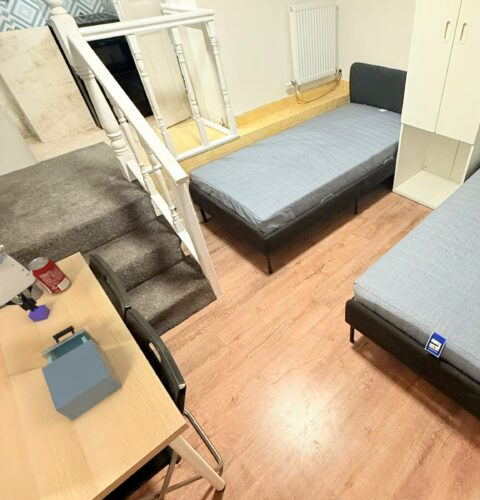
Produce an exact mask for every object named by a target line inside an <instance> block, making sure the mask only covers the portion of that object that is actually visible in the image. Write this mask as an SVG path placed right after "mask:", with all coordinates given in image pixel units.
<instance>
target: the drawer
mask: <svg viewBox="0 0 480 500" xmlns="http://www.w3.org/2000/svg"><path fill="white" fill-rule="evenodd" d="M69 333H71V334H70V335H69V336H67V337H65V338H64V339H62V340H60V338H62V337H64V336H66V335H67V334H69ZM52 339H53V340H54V341H55V344H53V345H51V346H50V347H47V348H46V349H45V350H42V351H41V352H40V354H41V356H42V357H43V358H44V359H46V360H47V361H48V364H50V363H51V362H53V361H55V360H56V359H58V358H60V357H61V356H63V355H65V354H66V353H68V352H70V351H71V350H73V349H75V348H76V347H78V346H80V345H82V344H83V343H85V342H87V341H88V340H90V339H92V340H93V341H94V342H95V343H96V344H97V345H98V344H99V343H98V340H97V339H96V338H95V337H94V336H93V335H92V334H91V333H90V332H89V331H88V330H87V329H86V328H85V327H82V328H81V329H80V330H77V331H75V327H74V326H73V325H69V326H68V327H66V328H64V329H63V330H61V331H59V332H57V333H56V334H54V335H52Z"/></svg>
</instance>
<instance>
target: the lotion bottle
mask: <svg viewBox="0 0 480 500" xmlns="http://www.w3.org/2000/svg"><path fill="white" fill-rule="evenodd" d="M31 295H32V298H33V299H34V300H35V301H37V300H39V298H40V297H41V296H42V295H43V290H42V288H41V287H40V286H38V284H37V283H36V284H35V285H34V286H33V288H32V292H31ZM16 297H17V298H20V299H21V295H20V293H19V294H18V295H17V296H16Z"/></svg>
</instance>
